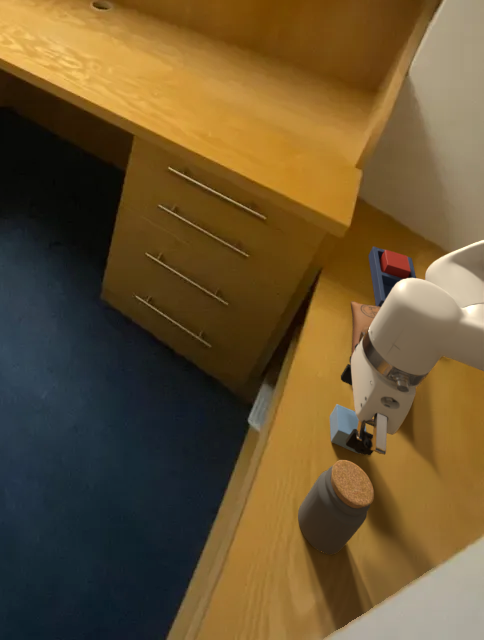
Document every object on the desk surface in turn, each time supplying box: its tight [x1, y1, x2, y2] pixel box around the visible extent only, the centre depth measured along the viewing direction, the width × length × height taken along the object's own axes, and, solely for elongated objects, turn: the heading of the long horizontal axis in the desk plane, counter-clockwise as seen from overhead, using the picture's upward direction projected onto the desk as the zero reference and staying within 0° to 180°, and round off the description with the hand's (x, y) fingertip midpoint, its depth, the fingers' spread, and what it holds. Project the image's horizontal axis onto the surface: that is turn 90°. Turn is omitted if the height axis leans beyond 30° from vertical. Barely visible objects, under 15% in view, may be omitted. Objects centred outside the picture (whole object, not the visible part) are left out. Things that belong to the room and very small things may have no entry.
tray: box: [368, 246, 417, 307], centre depth 103 cm, size 7×13×3 cm, turn 156°
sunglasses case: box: [349, 300, 381, 365], centre depth 92 cm, size 18×7×7 cm, turn 151°
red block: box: [379, 249, 411, 279], centre depth 105 cm, size 4×4×4 cm
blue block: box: [329, 403, 367, 455], centre depth 80 cm, size 4×4×4 cm
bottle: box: [297, 459, 375, 555], centre depth 68 cm, size 6×6×15 cm
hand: (354, 414), depth 78 cm, fingers open, 9 cm apart
